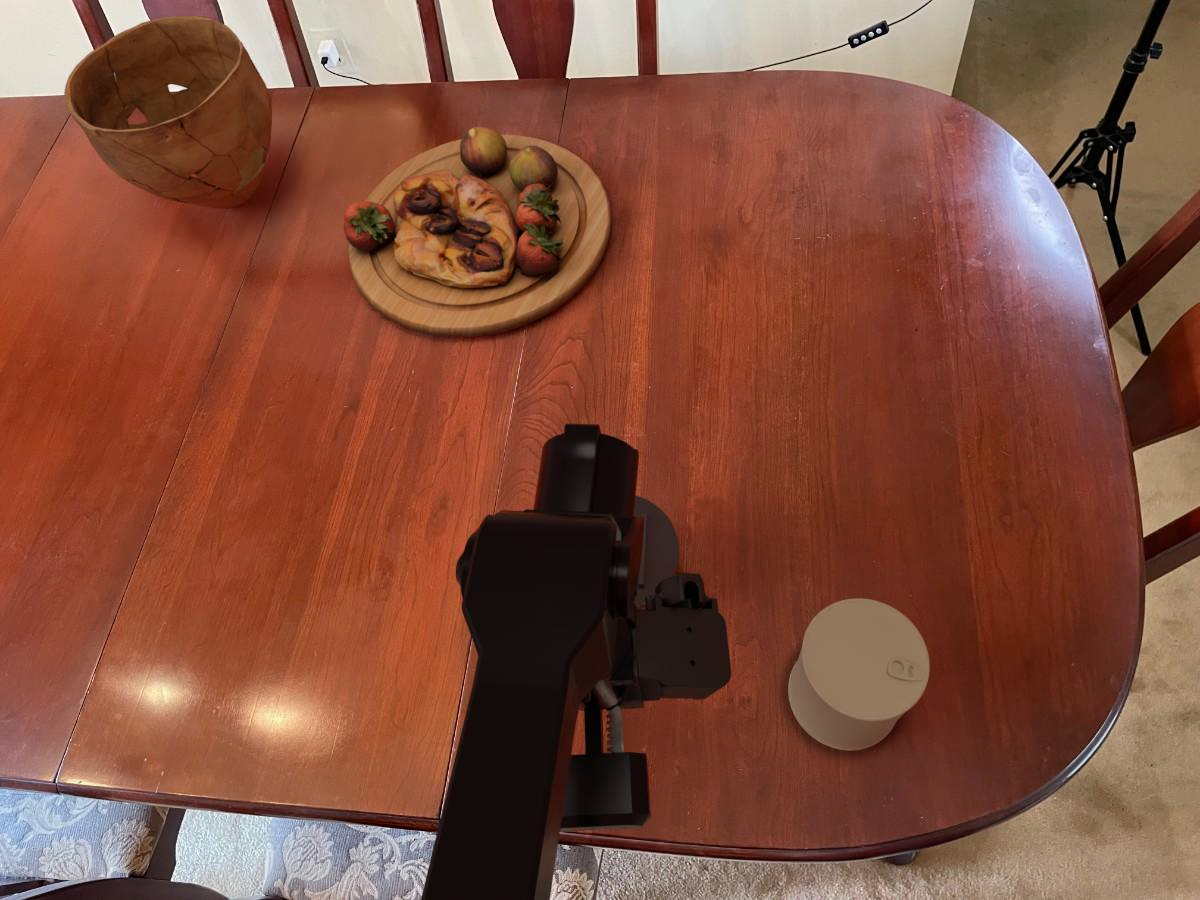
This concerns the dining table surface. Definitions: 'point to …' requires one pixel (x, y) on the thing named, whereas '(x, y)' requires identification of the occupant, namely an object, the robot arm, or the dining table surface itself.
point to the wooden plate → (478, 235)
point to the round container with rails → (655, 549)
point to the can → (857, 673)
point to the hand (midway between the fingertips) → (606, 698)
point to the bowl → (176, 110)
